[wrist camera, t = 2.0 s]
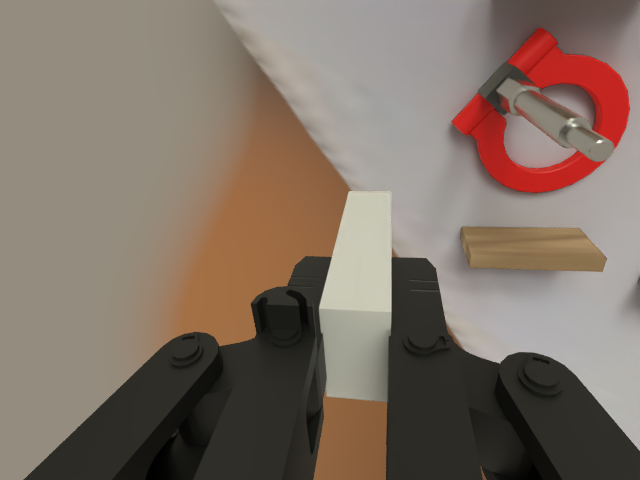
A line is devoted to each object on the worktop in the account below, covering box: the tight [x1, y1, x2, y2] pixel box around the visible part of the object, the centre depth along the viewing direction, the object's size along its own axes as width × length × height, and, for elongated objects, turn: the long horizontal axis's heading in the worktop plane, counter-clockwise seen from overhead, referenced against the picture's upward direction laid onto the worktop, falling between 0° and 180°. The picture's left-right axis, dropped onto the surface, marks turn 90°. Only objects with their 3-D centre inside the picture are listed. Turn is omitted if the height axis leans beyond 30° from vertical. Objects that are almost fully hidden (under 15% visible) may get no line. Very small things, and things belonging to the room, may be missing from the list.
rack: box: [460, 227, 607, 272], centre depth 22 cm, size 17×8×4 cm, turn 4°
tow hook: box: [452, 28, 630, 193], centre depth 19 cm, size 8×13×9 cm
